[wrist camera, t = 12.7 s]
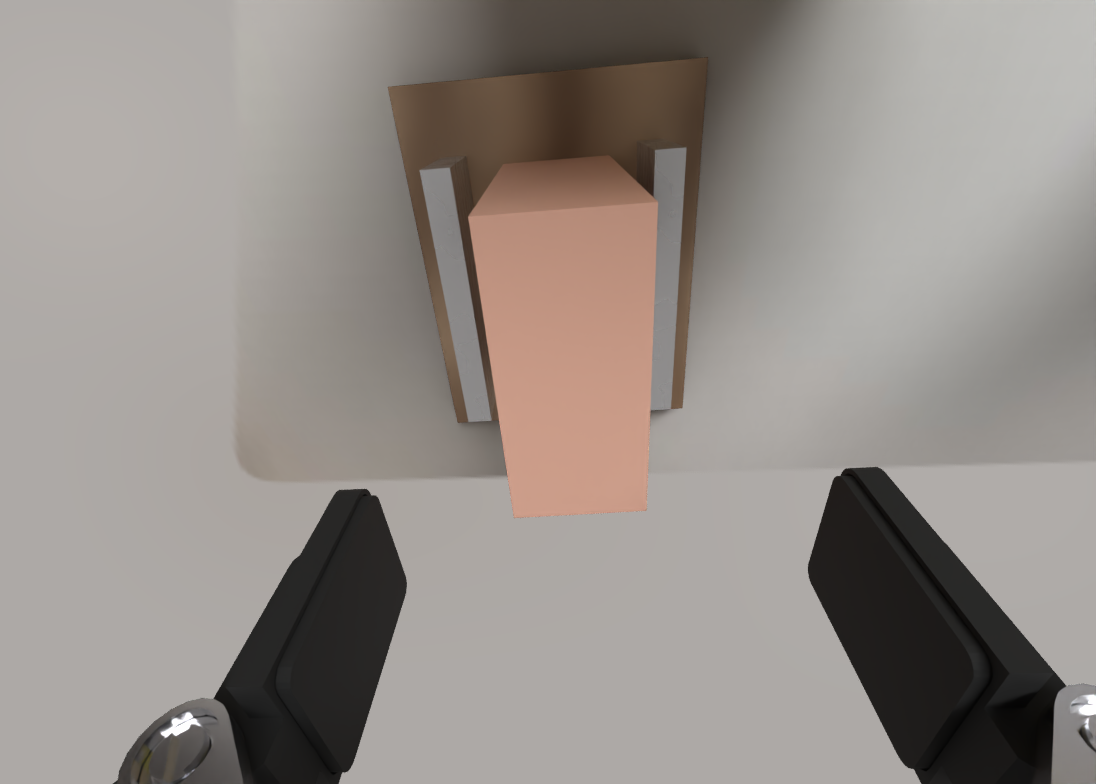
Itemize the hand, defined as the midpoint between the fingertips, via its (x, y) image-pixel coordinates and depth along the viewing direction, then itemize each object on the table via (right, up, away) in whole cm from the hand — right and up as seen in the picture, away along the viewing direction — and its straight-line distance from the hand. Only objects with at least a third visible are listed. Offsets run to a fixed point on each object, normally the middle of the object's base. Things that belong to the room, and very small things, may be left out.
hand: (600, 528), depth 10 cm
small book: (0, +9, +16) cm, 18 cm away
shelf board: (-1, +10, +17) cm, 20 cm away
